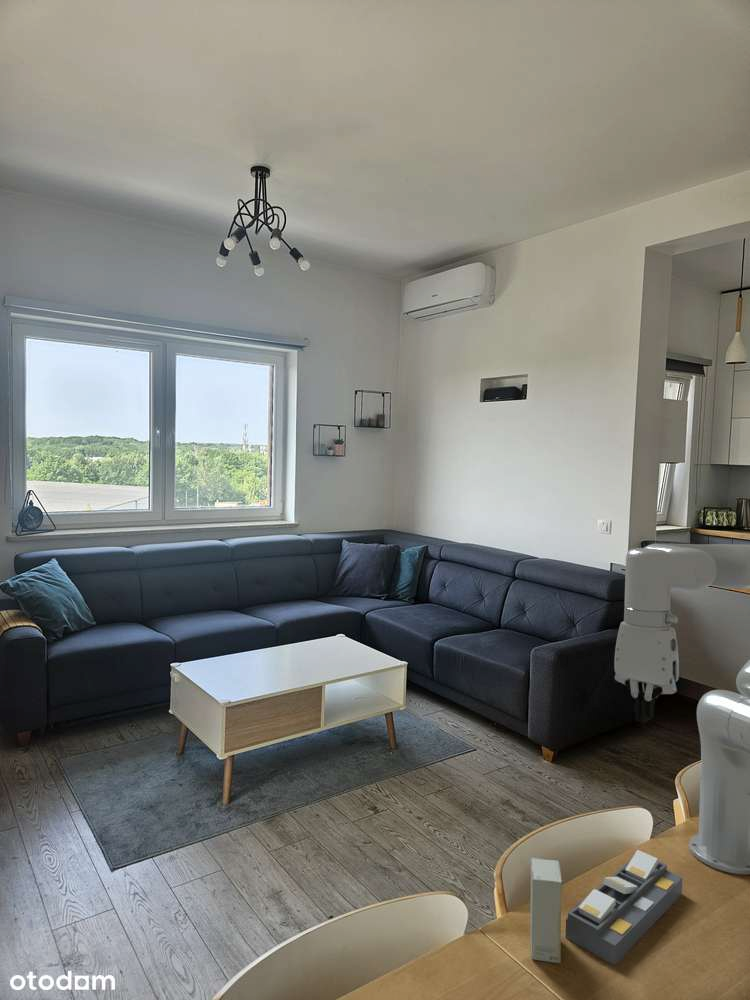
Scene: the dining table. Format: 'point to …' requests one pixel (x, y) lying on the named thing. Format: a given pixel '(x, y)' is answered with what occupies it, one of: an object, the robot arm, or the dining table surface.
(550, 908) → the skincare box
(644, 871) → the plate
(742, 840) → the robot arm
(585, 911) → the block
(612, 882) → the block
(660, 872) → the switch unit
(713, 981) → the dining table surface
